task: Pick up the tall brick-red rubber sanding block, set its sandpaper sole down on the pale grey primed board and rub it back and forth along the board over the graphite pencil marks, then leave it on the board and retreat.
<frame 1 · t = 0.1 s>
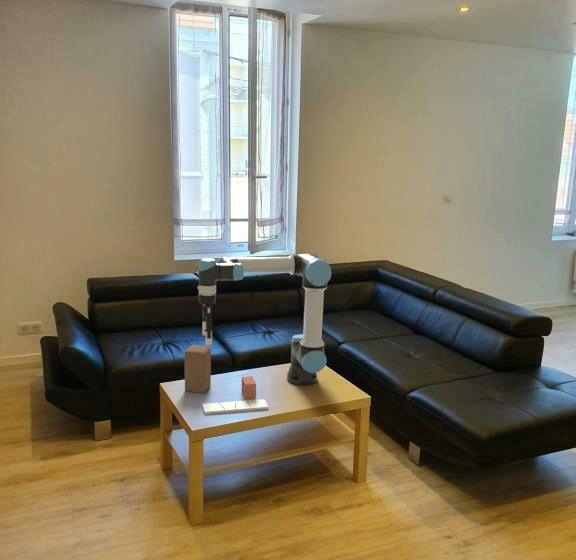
hand: (207, 339, 258), 28 cm above the table, fingers open, 13 cm apart
board: (235, 407, 255), on the table
wooden block: (197, 388, 274), on the table
sanding block: (248, 396, 268), on the table
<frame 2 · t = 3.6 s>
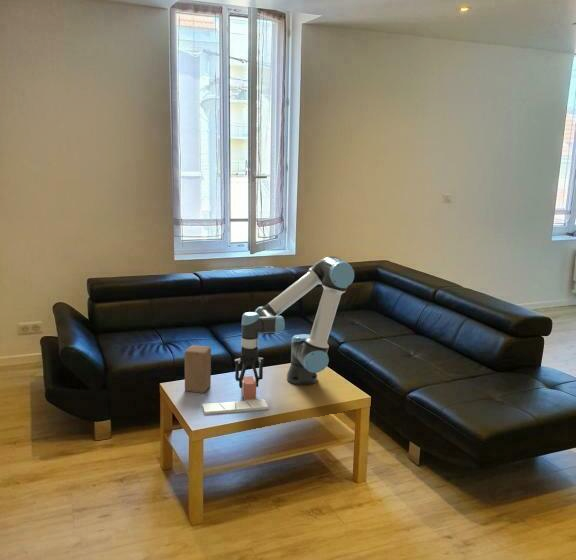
hand: (248, 393, 267), 1 cm above the table, fingers closed on sanding block, 5 cm apart
sanding block: (248, 396, 268), on the table, touching gripper
everything else where it was.
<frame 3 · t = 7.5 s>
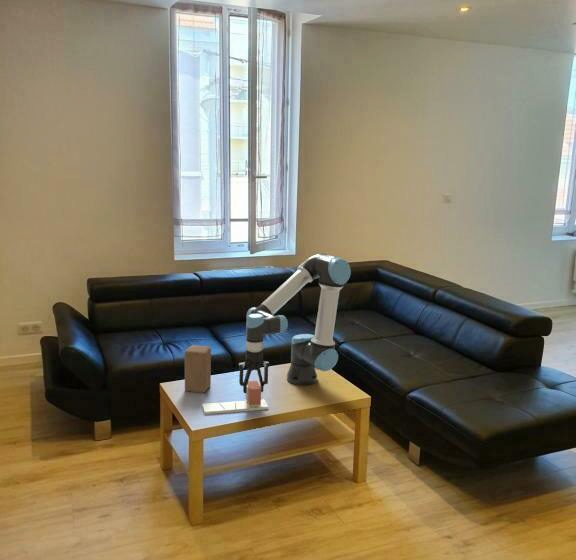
hand: (253, 399, 257), 4 cm above the table, fingers closed on sanding block, 5 cm apart
sanding block: (253, 401, 257), point 2 cm above the table, touching gripper
everything else where it was.
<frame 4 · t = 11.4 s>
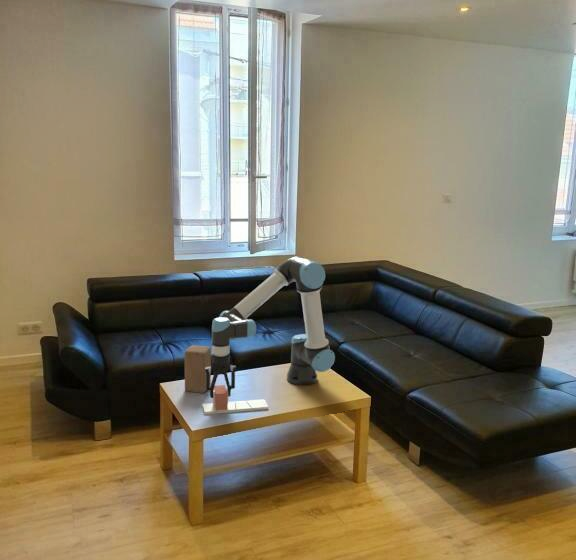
hand: (220, 403, 253), 3 cm above the table, fingers closed on sanding block, 5 cm apart
sanding block: (220, 406, 253), point 1 cm above the table, touching gripper
everything else where it was.
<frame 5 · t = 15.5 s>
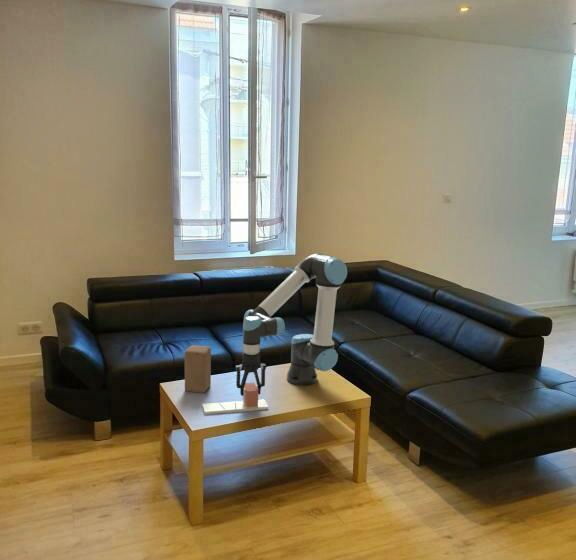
hand: (250, 401, 256), 3 cm above the table, fingers closed on sanding block, 5 cm apart
sanding block: (250, 403, 257), point 1 cm above the table, touching gripper
everything else where it was.
when the fingers open (3 cm above the table, at t = 19.3 s): sanding block stays where it is, resting on board.
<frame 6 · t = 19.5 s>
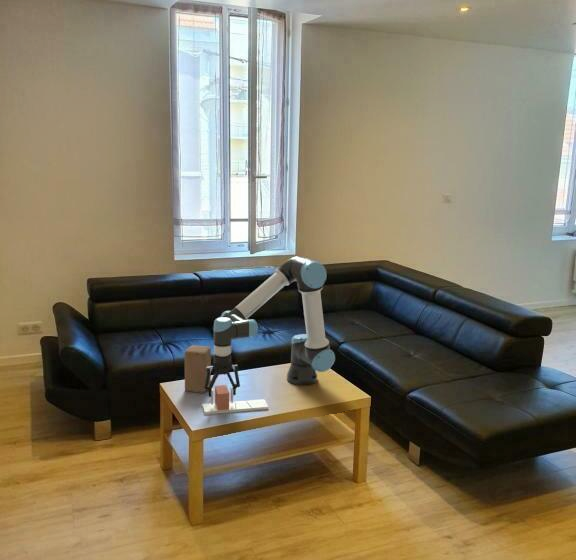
hand: (221, 402, 253), 3 cm above the table, fingers open, 8 cm apart
sanding block: (221, 406, 254), point 1 cm above the table, touching board
everything else where it was.
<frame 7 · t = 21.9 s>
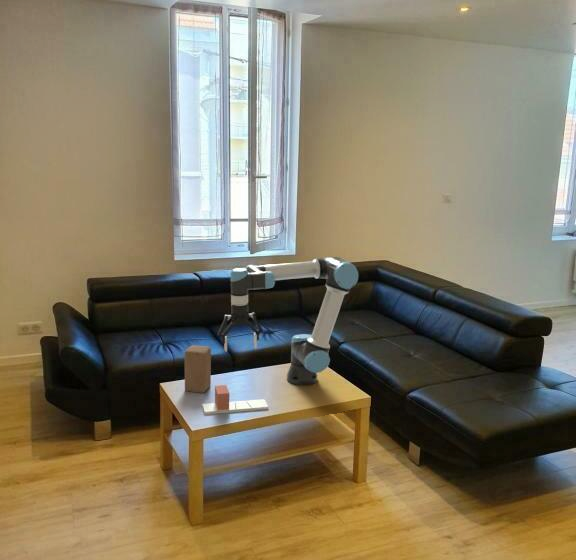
hand: (240, 348, 260), 24 cm above the table, fingers open, 13 cm apart
nothing on the table moved.
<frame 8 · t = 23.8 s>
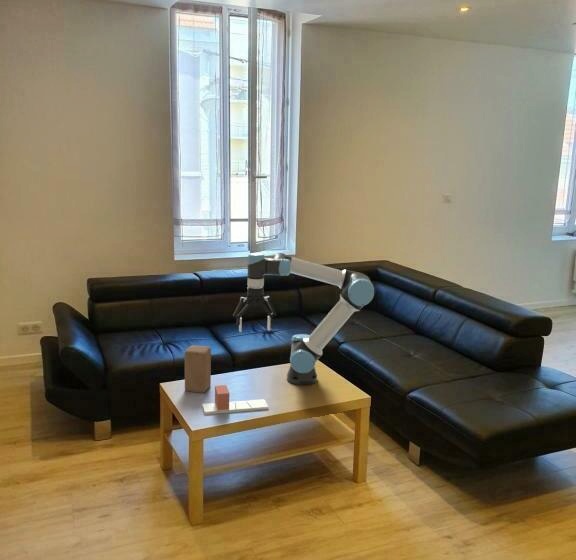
hand: (254, 330, 271), 29 cm above the table, fingers open, 13 cm apart
nothing on the table moved.
at the end: sanding block inside the target area on the board (6.0 cm from its centre), point 1.2 cm above the board's base; sanding block moved 17.8 cm from its start; sanding block tilted 0° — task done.
